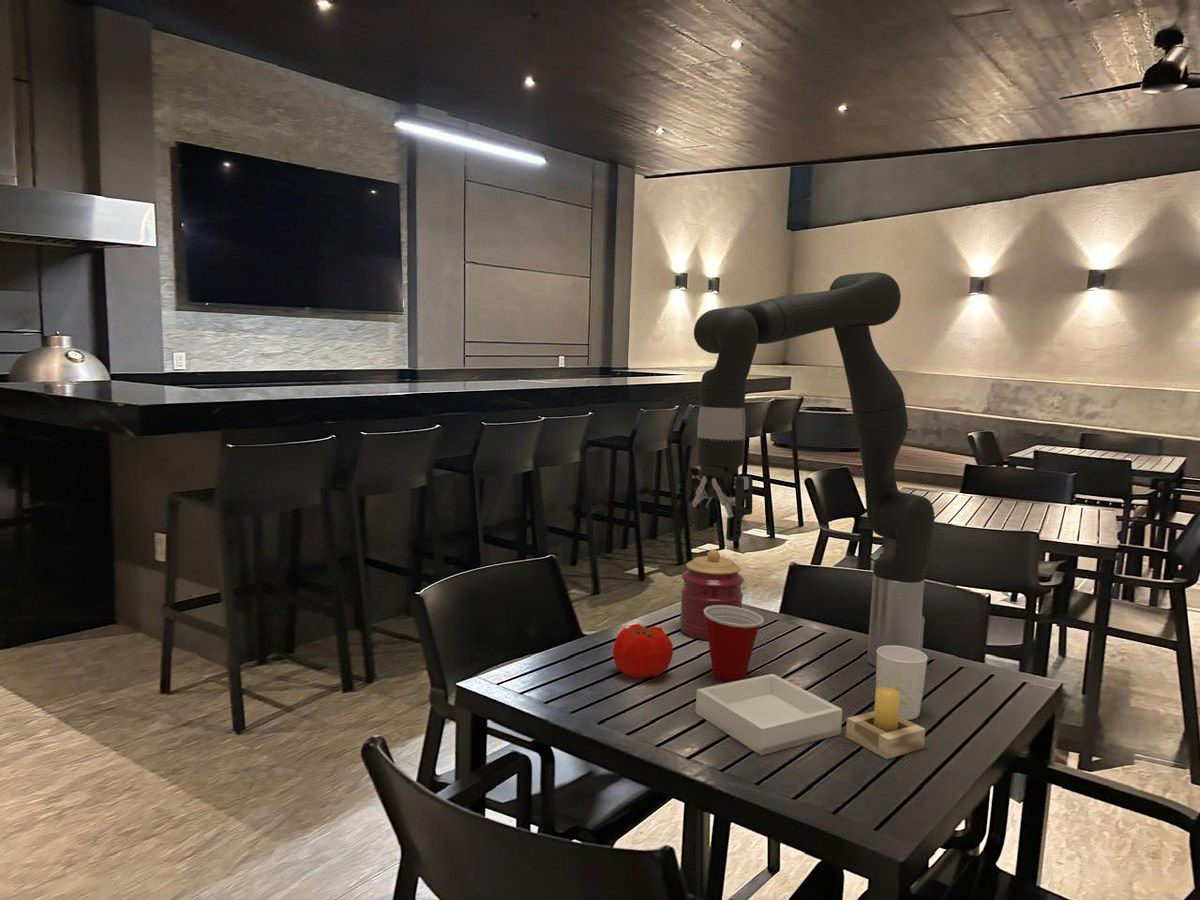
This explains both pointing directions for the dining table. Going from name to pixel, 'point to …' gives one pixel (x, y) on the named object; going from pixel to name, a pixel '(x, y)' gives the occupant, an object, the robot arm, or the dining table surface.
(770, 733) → the tray
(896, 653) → the white cup
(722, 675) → the plastic cup
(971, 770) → the dining table surface
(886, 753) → the socket block
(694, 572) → the canister
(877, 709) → the dowel
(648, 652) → the tomato
